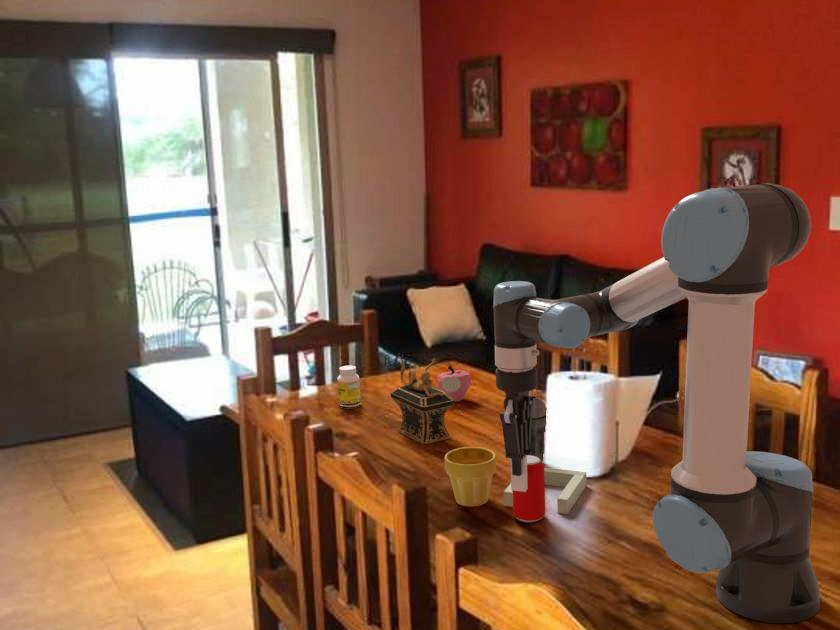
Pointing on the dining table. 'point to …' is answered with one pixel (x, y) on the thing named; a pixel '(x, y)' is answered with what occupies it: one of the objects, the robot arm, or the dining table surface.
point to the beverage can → (531, 493)
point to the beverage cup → (538, 428)
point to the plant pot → (471, 474)
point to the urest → (562, 478)
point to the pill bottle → (348, 387)
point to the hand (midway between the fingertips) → (519, 489)
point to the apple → (454, 383)
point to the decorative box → (422, 407)
